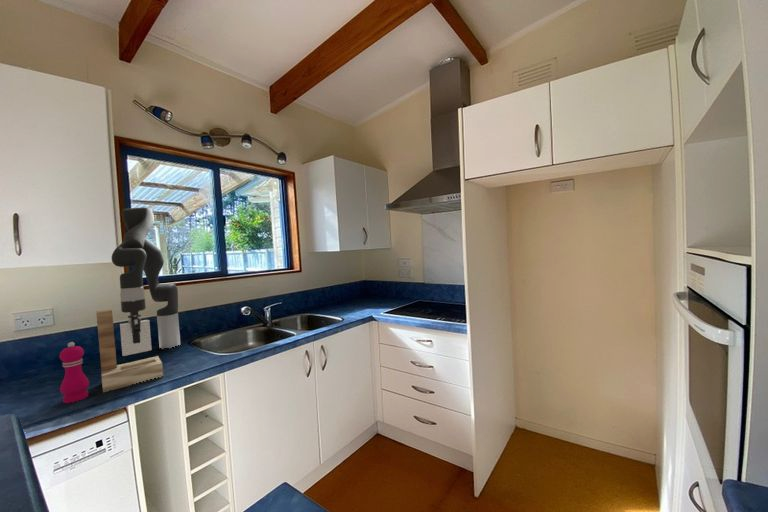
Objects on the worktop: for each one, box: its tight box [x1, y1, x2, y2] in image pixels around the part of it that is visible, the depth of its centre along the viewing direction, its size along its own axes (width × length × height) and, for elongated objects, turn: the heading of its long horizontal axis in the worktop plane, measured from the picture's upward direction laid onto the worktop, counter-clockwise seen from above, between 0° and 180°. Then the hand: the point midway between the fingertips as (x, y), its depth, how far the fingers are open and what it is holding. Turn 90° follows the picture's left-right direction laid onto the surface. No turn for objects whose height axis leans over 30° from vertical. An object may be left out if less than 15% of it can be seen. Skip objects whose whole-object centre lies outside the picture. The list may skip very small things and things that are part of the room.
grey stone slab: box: [119, 319, 153, 357], centre depth 125 cm, size 3×9×12 cm, turn 132°
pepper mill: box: [59, 341, 90, 404], centre depth 109 cm, size 7×7×20 cm
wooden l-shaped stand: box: [96, 309, 164, 393], centre depth 123 cm, size 12×18×28 cm, turn 132°
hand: (136, 341), depth 125 cm, fingers closed on grey stone slab, 3 cm apart
